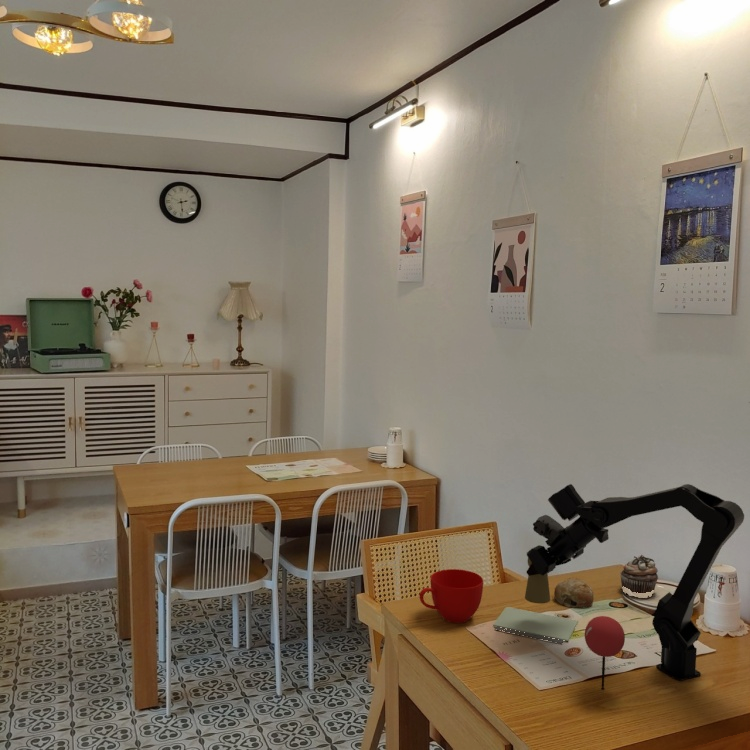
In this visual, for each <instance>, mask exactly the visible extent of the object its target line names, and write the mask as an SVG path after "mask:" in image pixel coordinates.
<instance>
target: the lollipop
mask: <svg viewBox="0 0 750 750" xmlns="http://www.w3.org/2000/svg"><path fill="white" fill-rule="evenodd" d="M625 639H626V634H625V630H624V629H623V626H622V625H621V623H619V622H618V621H617V619H615V618H612V617H609V616H606V615H605V616H604V615H600V616H599V615H598V616H595V617H593V618H592V619H590V620H589V621H588V623H587V624H586V627H585V630H584V640H585V644H586V646H587V647H588V649H589V650H590V652H593V654H595V655H597V656H600V657H602V659H601V661H602V662H601V664H602V665H601V688H600V689H601V690H605V671H606V670H605V669H606V658H611V657H614V656H616V655H618V654H620V652H621V651H622V650H623V648H624V645H625V642H626V641H625Z"/></svg>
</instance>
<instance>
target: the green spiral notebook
mask: <svg viewBox="0 0 750 750" xmlns="http://www.w3.org/2000/svg"><path fill="white" fill-rule="evenodd" d="M577 623H578V624H579V620H576V619H572V618H568V617H567V618H566V617H561V616H557V615H556V616H555V615H551V614H546V613H542V612H536V611H530V610H526V609H520V608H516V607H511V606H510V607H509V606H506V607H505V608H504V609H503V611H502V612H501V614H499V616H498V617H497V618H496V620H495V621H494V623H492V627H493V626H497V627H502V628H507V629H511V630H516V631H520V632H525V633H529V634H534V635H539V636H545V637H550V638H555V639H559V640H565V641H569V642H570V640H571V638H570V637H572V636H573V634H574V632H575V630H576V628H577V626H578V624H577ZM576 625H577V626H576ZM575 627H576V628H575ZM574 629H575V630H574ZM573 631H574V632H573ZM572 633H573V634H572ZM571 635H572V636H571ZM569 639H570V640H569Z"/></svg>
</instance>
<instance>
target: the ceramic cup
mask: <svg viewBox="0 0 750 750" xmlns="http://www.w3.org/2000/svg"><path fill="white" fill-rule="evenodd" d="M483 589H484V579H483V577H482V576H481V575H479V574H478V573H476V572H474V571H470V570H466V569H465V570H464V569H459V568H457V569H456V568H453V569H452V568H451V569H450V568H449V569H441V570H438V571H435V572H434V573H432V574H431V576H430V587H426V588H422V590H421V591H420V593H419V600H420V602H421V604H422V605H423V606H424V607H426V608H428V609H431V610H436V611H437V612H438V614H439V615H440V616H441V617H442V619H443V620H444V621H447V622H449V623H453V624H462V623H466V622H468V621H469V620H470V618H472V617H473V616H474V615H475V613H476V612H477V611H478V609H479V607H480V604H481V602H482V597H483V591H484V590H483ZM427 592H430V593H431V599H432V602H433V605H432V604H429V603H426V601H425V599H424V596H425V594H426V593H427Z"/></svg>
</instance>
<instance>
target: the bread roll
mask: <svg viewBox="0 0 750 750" xmlns="http://www.w3.org/2000/svg"><path fill="white" fill-rule="evenodd" d="M553 595H554V598H555V600H556V601H557V603H559V604H560V605H562V606H564V607H568V608H575V609H576V608H577V607H579V608H581V607H582V608H581V609H584V608H583V607H587V608H589V607H591V606H592V605H593V603H594V591H593V589H592V587H591V586H590V585H589V584H588V583H587V582H586V581H585V580H583V579H581V578H578V577H575V576H573V577H569V578H567V579H566V580H561V581H560V582H558V583H557V585H556V586H555V588H554V593H553Z"/></svg>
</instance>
